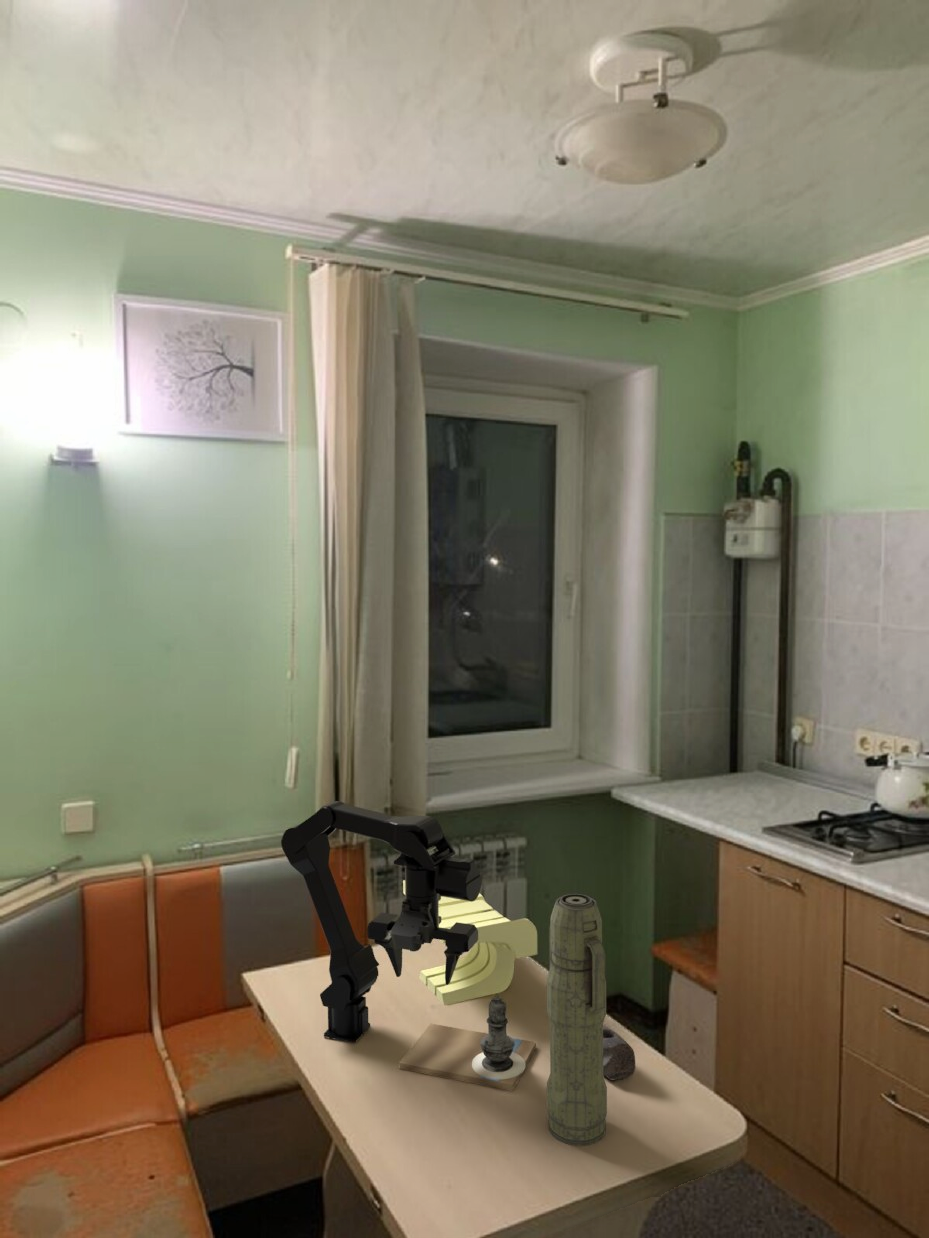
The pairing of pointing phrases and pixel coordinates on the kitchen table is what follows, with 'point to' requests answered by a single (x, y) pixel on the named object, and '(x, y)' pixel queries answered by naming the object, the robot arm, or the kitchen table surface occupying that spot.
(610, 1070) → the perforated stone tool
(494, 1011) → the dark grey chess piece
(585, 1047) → the thermos
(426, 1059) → the board
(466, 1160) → the kitchen table surface
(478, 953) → the slatted curved stool
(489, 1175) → the kitchen table surface
